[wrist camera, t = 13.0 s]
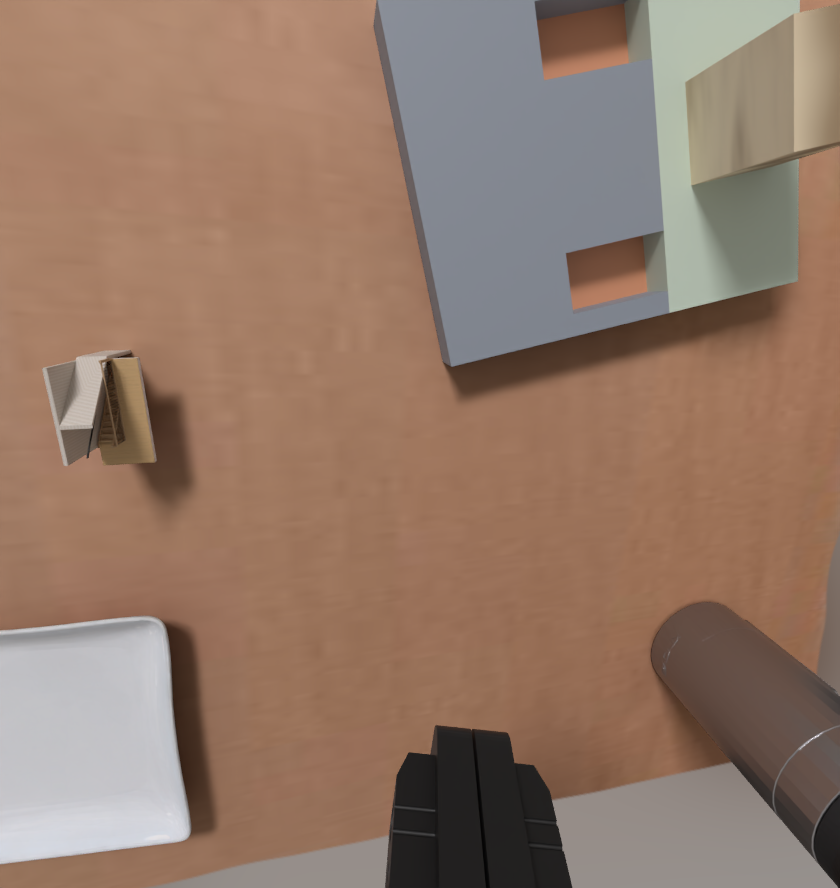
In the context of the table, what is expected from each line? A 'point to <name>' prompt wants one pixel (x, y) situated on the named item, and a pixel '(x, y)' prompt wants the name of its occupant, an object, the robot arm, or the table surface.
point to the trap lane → (573, 165)
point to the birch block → (768, 99)
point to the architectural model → (101, 408)
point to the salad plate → (88, 740)
